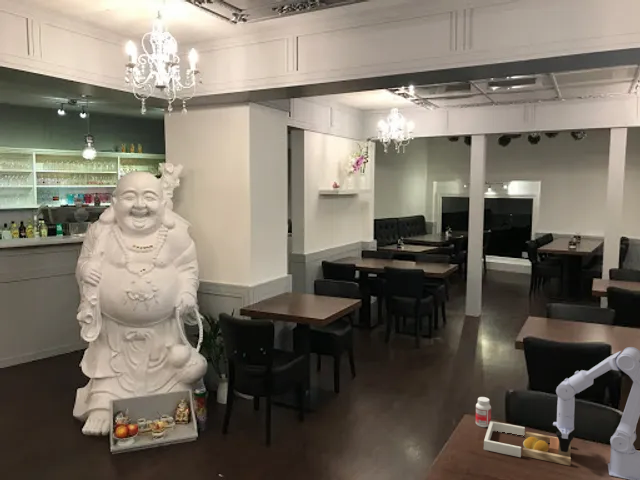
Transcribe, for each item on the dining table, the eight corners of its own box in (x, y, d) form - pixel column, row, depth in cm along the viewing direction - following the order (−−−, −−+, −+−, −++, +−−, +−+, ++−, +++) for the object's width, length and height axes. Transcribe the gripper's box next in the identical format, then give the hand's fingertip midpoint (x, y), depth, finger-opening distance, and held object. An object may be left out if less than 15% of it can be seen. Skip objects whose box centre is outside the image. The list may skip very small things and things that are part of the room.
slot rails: (570, 446, 193) (570, 439, 193) (570, 465, 180) (570, 459, 180) (525, 437, 201) (525, 431, 200) (522, 455, 187) (522, 449, 187)
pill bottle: (485, 420, 216) (486, 395, 215) (493, 426, 210) (494, 401, 209) (472, 421, 214) (473, 396, 213) (480, 428, 208) (480, 403, 207)
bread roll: (543, 457, 186) (543, 447, 185) (520, 448, 193) (520, 438, 192) (553, 450, 191) (553, 440, 191) (530, 441, 198) (531, 431, 198)
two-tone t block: (570, 448, 191) (570, 433, 190) (570, 459, 183) (570, 444, 182) (550, 444, 194) (550, 429, 193) (549, 455, 186) (549, 440, 185)
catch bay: (524, 435, 202) (524, 427, 202) (520, 457, 186) (520, 448, 186) (490, 428, 208) (490, 420, 208) (483, 449, 192) (483, 440, 191)
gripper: (554, 403, 194) (552, 437, 196) (553, 419, 181) (551, 455, 183) (574, 407, 191) (573, 441, 193) (575, 423, 178) (573, 459, 180)
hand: (564, 448), depth 187 cm, fingers closed on two-tone t block, 4 cm apart
